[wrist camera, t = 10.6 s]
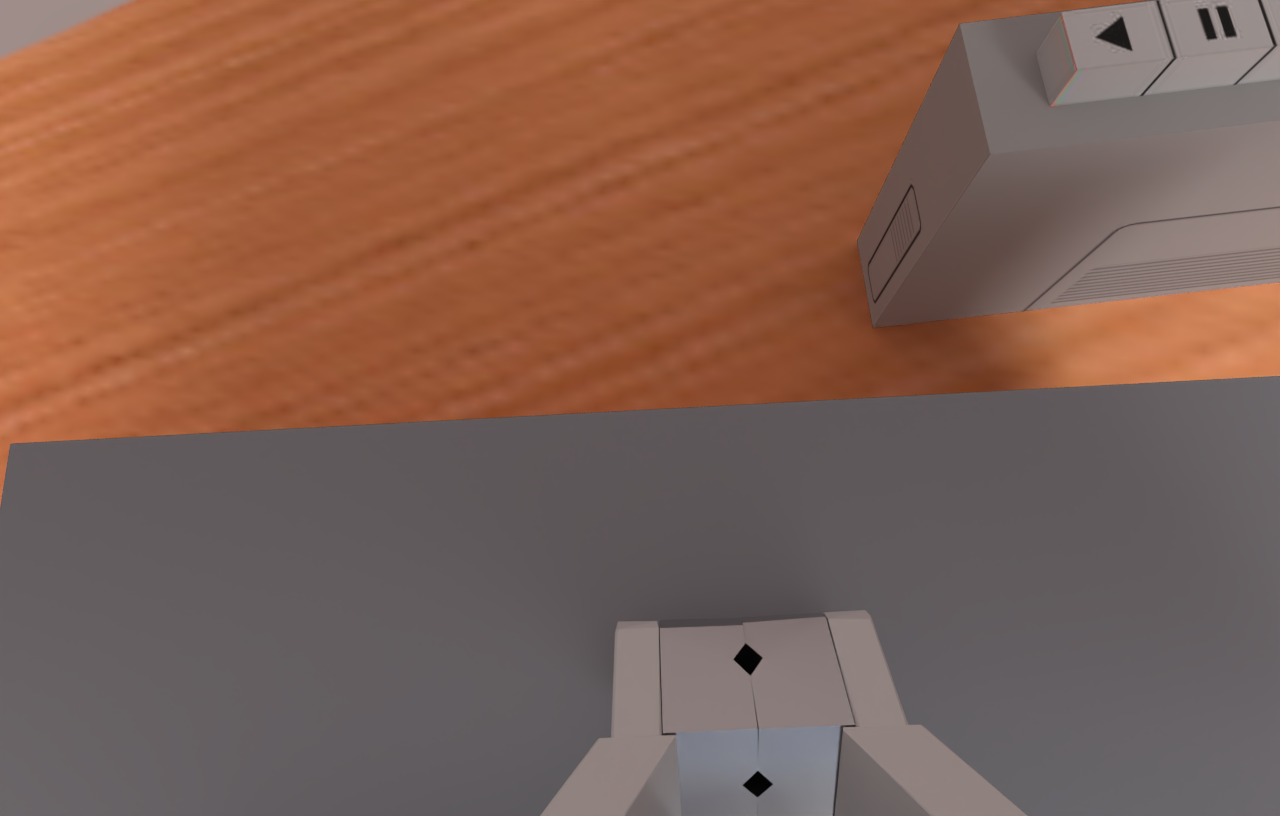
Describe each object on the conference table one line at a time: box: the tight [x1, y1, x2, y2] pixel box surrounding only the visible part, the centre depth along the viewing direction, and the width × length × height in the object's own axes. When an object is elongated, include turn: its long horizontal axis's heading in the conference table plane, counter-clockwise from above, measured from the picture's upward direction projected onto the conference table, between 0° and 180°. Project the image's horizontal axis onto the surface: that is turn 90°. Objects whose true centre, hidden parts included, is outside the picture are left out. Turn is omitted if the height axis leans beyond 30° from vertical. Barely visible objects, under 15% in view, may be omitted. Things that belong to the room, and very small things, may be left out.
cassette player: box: [857, 0, 1280, 328], centre depth 18 cm, size 16×3×10 cm, turn 96°
